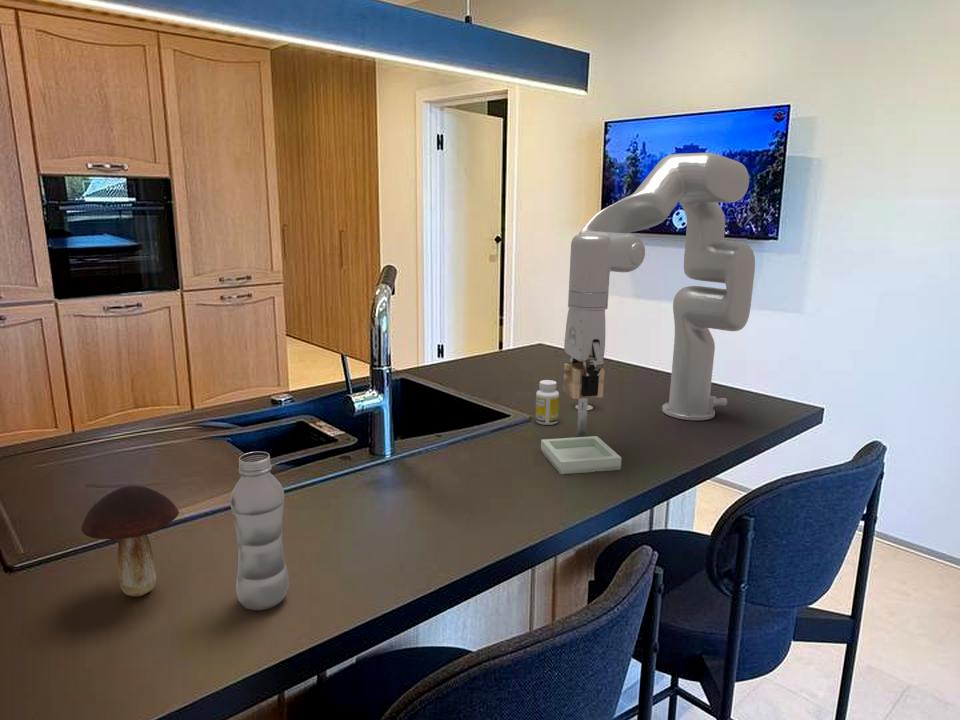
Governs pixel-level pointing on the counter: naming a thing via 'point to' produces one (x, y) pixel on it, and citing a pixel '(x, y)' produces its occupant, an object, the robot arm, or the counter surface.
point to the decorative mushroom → (131, 531)
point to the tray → (580, 455)
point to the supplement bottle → (547, 403)
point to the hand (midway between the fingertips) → (583, 389)
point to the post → (582, 417)
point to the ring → (579, 380)
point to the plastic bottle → (259, 533)
